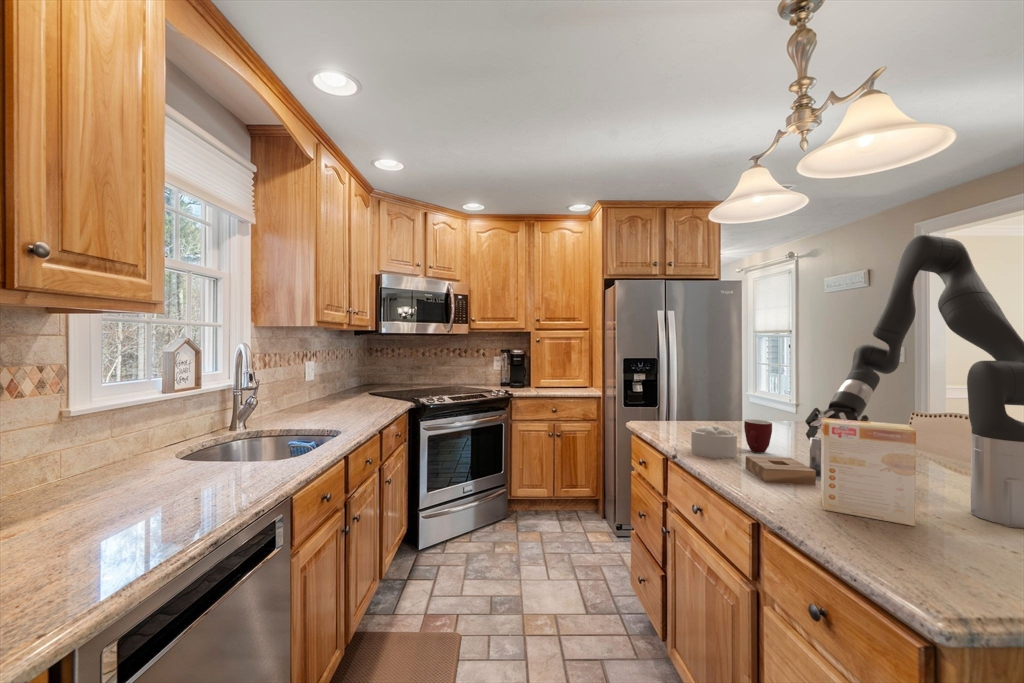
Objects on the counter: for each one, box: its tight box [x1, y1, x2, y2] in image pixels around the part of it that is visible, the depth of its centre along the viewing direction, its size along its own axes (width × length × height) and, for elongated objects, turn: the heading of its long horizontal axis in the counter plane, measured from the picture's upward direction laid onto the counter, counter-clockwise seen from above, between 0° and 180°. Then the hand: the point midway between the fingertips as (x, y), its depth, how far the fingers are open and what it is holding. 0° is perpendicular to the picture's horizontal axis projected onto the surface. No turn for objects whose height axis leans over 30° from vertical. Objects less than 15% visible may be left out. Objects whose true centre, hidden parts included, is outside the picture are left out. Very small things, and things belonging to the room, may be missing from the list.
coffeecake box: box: [820, 418, 917, 527], centre depth 90 cm, size 15×7×20 cm, turn 58°
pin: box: [808, 436, 821, 477], centre depth 114 cm, size 3×3×10 cm
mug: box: [743, 419, 773, 454], centre depth 138 cm, size 11×8×10 cm
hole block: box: [745, 455, 817, 486], centre depth 112 cm, size 12×12×4 cm
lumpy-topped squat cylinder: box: [690, 425, 738, 460], centre depth 135 cm, size 10×13×9 cm
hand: (825, 442), depth 115 cm, fingers open, 8 cm apart
